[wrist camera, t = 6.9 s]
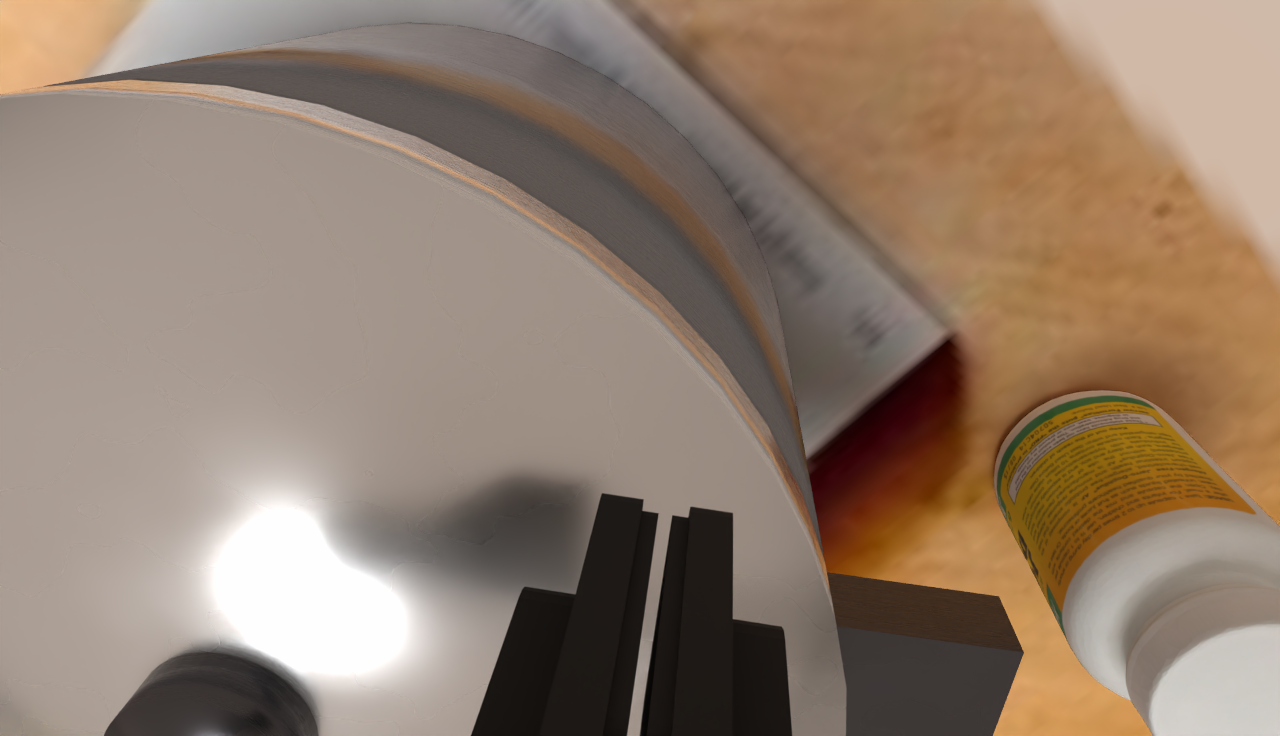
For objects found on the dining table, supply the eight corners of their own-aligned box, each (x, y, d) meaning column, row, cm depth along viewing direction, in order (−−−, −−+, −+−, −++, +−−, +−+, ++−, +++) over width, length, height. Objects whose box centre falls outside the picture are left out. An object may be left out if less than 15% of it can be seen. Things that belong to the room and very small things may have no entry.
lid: (976, 184, 12) (1035, 234, 10) (735, 1074, 20) (737, 1210, 18) (-501, -10, 12) (-765, -3, 10) (-142, 940, 21) (-244, 1057, 18)
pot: (988, 93, 23) (1239, 215, 12) (829, 692, 31) (891, 1087, 20) (-57, -41, 23) (-732, -41, 12) (60, 583, 32) (-283, 909, 21)
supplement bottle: (1219, 447, 26) (1469, 689, 18) (1082, 568, 28) (1245, 839, 20) (1080, 347, 25) (1271, 550, 17) (949, 480, 27) (1059, 723, 19)
